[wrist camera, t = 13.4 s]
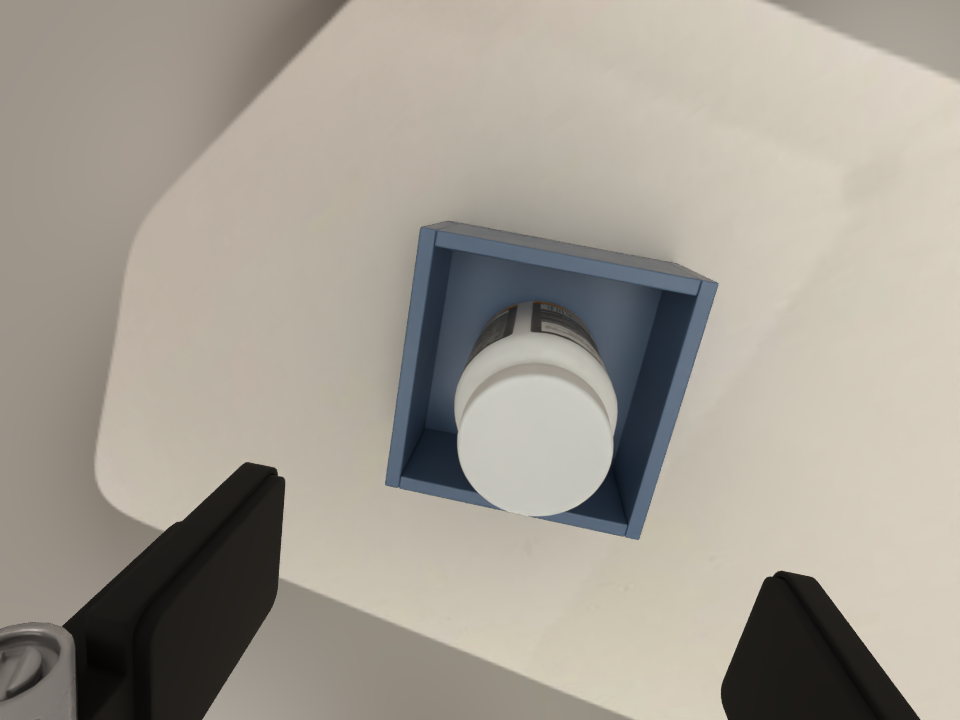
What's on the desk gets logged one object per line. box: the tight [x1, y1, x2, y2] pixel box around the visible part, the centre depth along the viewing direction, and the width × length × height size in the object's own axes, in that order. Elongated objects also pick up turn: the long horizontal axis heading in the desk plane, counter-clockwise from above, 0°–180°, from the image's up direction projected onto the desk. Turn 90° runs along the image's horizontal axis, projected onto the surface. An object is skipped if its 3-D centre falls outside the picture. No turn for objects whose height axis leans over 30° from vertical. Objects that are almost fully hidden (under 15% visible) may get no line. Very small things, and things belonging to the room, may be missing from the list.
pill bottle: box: [454, 301, 618, 516], centre depth 21 cm, size 6×6×10 cm
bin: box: [385, 221, 718, 540], centre depth 23 cm, size 11×11×6 cm
